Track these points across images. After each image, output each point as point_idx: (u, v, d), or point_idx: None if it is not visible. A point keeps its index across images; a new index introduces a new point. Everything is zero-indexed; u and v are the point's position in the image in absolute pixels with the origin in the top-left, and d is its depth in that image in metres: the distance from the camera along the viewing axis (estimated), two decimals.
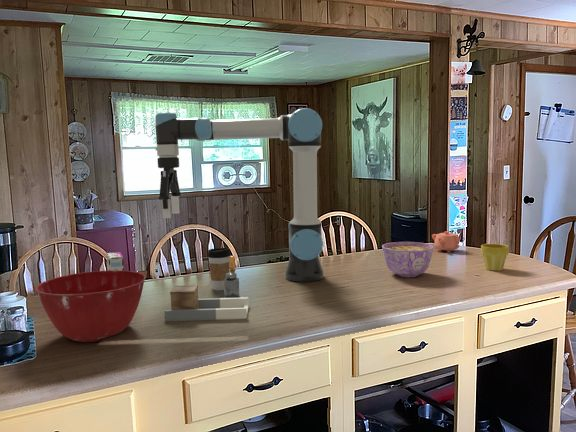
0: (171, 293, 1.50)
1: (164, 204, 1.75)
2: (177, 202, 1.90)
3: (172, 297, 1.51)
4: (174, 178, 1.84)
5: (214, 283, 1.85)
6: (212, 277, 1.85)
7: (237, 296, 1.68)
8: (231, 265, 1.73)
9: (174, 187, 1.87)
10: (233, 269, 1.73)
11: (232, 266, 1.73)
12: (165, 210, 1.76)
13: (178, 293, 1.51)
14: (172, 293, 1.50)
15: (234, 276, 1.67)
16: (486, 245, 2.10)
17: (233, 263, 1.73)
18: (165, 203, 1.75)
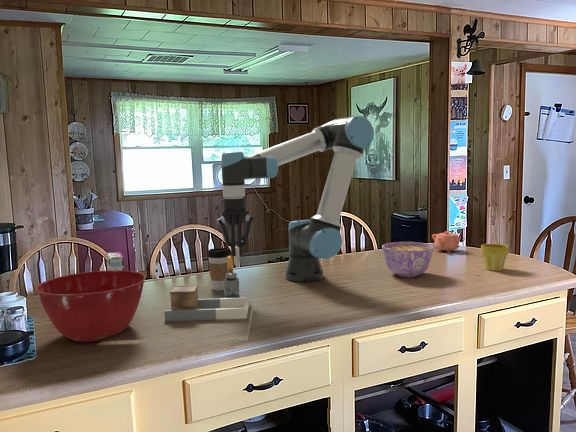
0: (171, 293, 1.50)
1: (231, 251, 1.74)
2: None
3: (172, 297, 1.51)
4: (238, 220, 1.72)
5: (214, 283, 1.85)
6: (212, 277, 1.85)
7: (237, 296, 1.68)
8: (229, 265, 1.73)
9: (237, 233, 1.73)
10: (231, 269, 1.73)
11: (230, 267, 1.73)
12: (234, 257, 1.75)
13: (178, 293, 1.51)
14: (172, 293, 1.50)
15: (234, 276, 1.67)
16: (486, 245, 2.10)
17: (231, 263, 1.73)
18: (231, 251, 1.73)
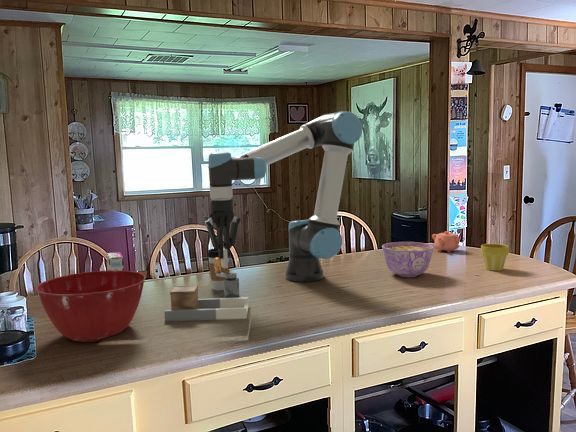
0: (171, 293, 1.50)
1: (219, 254, 1.72)
2: None
3: (172, 297, 1.51)
4: (226, 222, 1.70)
5: (214, 283, 1.85)
6: (212, 277, 1.85)
7: (237, 296, 1.68)
8: (219, 267, 1.71)
9: (225, 235, 1.71)
10: (220, 271, 1.71)
11: (219, 268, 1.71)
12: (222, 259, 1.73)
13: (178, 293, 1.51)
14: (172, 293, 1.50)
15: (236, 275, 1.68)
16: (486, 245, 2.10)
17: (220, 265, 1.71)
18: (219, 253, 1.71)
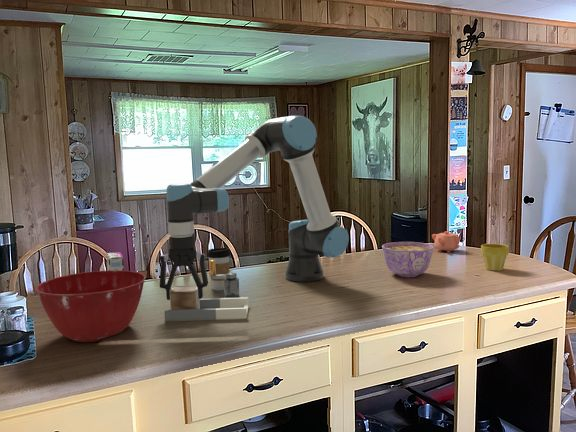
0: (171, 293, 1.50)
1: None
2: None
3: (172, 297, 1.51)
4: (185, 262, 1.52)
5: (214, 283, 1.85)
6: None
7: (237, 296, 1.68)
8: (215, 269, 1.67)
9: None
10: None
11: (215, 270, 1.68)
12: None
13: (178, 293, 1.51)
14: (172, 293, 1.50)
15: None
16: (486, 245, 2.10)
17: None
18: None
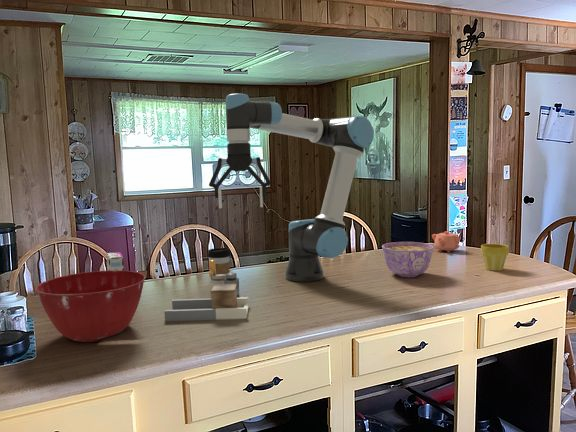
0: (212, 292, 1.51)
1: (215, 193, 1.67)
2: (260, 194, 1.66)
3: (213, 296, 1.51)
4: (244, 166, 1.65)
5: (214, 283, 1.85)
6: None
7: (237, 296, 1.68)
8: (215, 269, 1.67)
9: (254, 177, 1.66)
10: None
11: (215, 270, 1.68)
12: None
13: (219, 292, 1.51)
14: (213, 292, 1.51)
15: None
16: (486, 245, 2.10)
17: None
18: (215, 192, 1.66)
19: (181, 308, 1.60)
